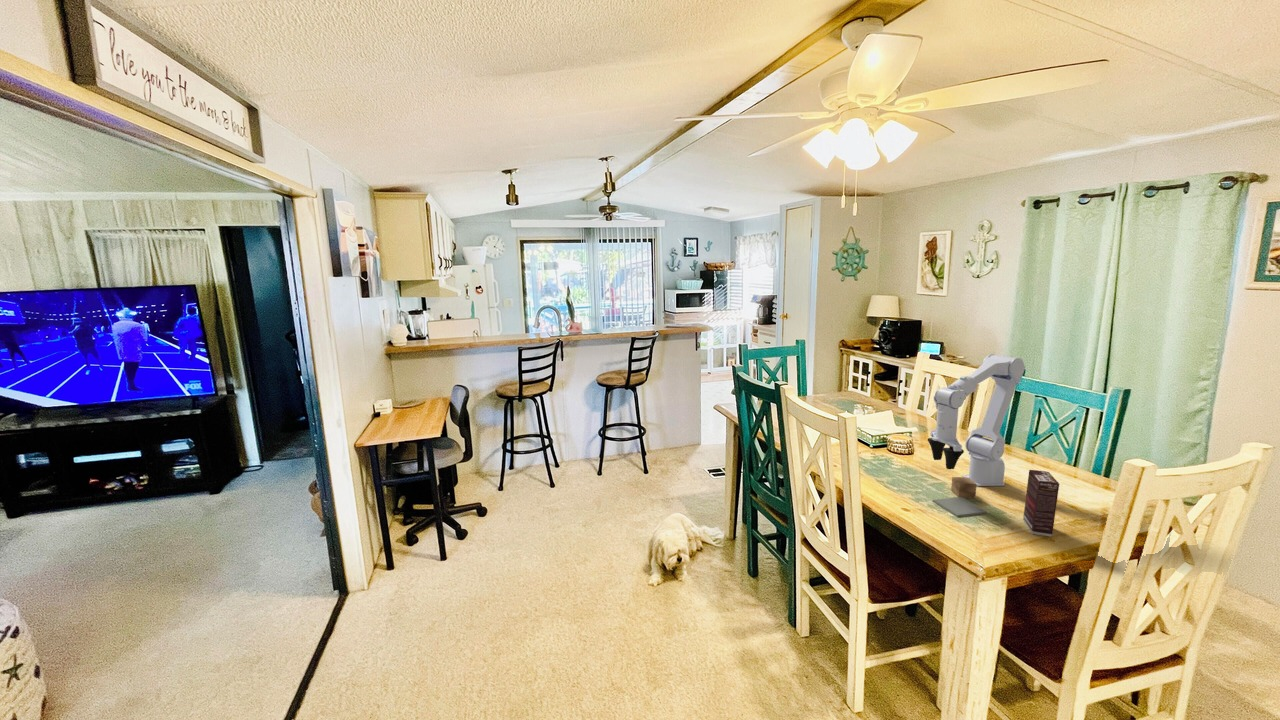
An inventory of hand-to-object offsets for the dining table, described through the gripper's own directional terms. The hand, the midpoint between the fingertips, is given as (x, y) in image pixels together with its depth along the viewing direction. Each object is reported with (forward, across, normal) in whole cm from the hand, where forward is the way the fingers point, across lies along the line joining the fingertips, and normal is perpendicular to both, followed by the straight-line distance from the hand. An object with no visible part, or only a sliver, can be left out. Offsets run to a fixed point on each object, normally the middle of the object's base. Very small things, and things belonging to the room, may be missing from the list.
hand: (943, 464), depth 163 cm
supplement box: (+10, +24, +13) cm, 29 cm away
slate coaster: (+10, +11, -1) cm, 15 cm away
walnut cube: (+10, +3, +5) cm, 11 cm away
